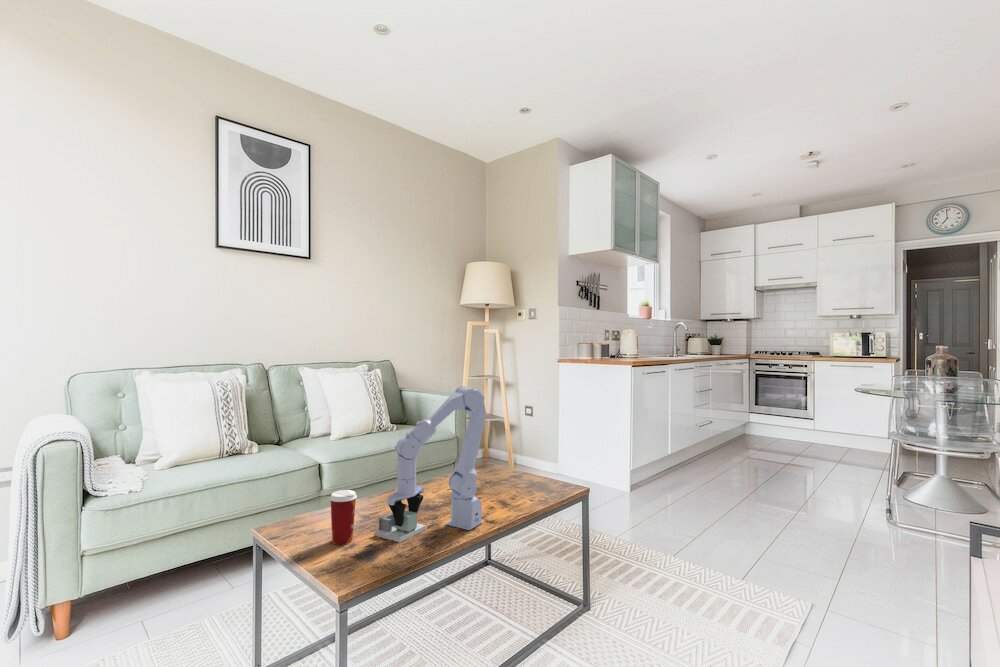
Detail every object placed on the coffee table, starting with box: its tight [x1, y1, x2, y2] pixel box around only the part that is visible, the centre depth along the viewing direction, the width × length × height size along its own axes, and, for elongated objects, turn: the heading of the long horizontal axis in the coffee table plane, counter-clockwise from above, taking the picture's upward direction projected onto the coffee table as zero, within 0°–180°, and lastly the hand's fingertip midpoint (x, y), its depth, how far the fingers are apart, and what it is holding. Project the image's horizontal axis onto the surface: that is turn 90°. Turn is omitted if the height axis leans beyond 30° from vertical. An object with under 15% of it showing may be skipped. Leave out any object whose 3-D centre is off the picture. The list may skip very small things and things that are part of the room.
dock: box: [374, 512, 427, 543], centre depth 147 cm, size 10×12×5 cm
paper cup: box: [329, 489, 358, 546], centre depth 140 cm, size 8×8×14 cm
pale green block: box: [396, 509, 418, 533], centre depth 146 cm, size 5×4×5 cm
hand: (405, 522), depth 146 cm, fingers open, 6 cm apart
